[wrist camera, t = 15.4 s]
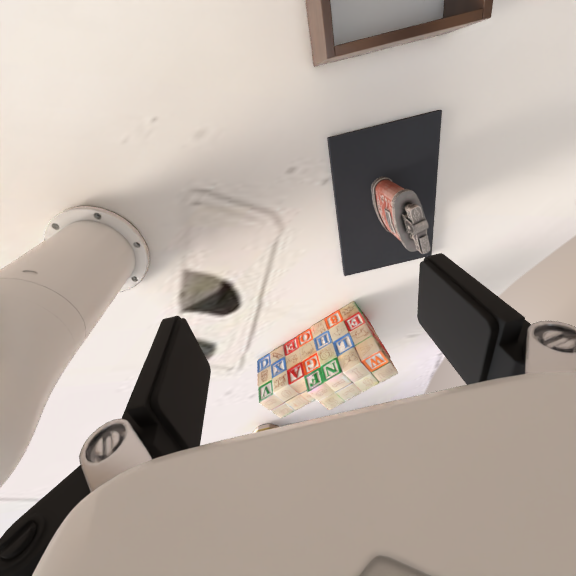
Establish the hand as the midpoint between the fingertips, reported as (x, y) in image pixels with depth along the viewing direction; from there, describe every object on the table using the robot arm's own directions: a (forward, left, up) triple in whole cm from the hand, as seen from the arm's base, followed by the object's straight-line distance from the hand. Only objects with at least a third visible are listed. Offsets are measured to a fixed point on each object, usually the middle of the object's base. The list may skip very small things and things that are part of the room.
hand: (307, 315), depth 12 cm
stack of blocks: (+1, -31, -31) cm, 43 cm away
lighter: (+15, -8, -30) cm, 34 cm away
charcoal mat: (+15, -8, -30) cm, 35 cm away
